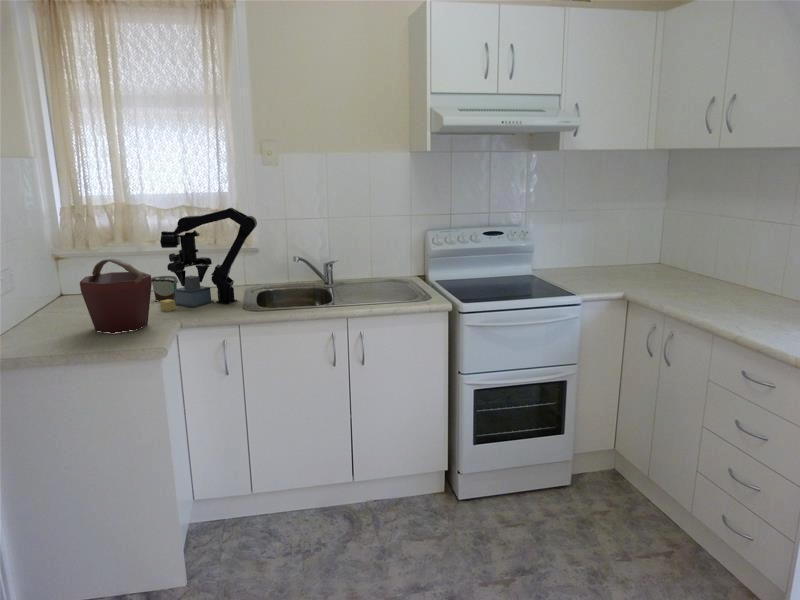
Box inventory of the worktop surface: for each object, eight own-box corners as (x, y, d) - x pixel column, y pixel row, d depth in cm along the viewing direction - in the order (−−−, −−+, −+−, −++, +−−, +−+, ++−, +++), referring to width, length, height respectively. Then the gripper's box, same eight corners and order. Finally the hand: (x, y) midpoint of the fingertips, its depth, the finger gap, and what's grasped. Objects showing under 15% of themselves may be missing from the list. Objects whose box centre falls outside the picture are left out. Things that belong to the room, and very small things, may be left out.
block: (175, 309, 233) (174, 300, 233) (167, 312, 230) (166, 302, 229) (169, 308, 235) (168, 299, 234) (160, 310, 232) (159, 301, 231)
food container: (186, 298, 252) (183, 276, 250) (177, 301, 246) (174, 279, 244) (162, 297, 255) (159, 275, 253) (152, 300, 250) (150, 277, 247)
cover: (211, 301, 246) (209, 275, 243) (192, 306, 237) (190, 279, 234) (194, 298, 250) (192, 273, 248) (176, 303, 242) (173, 277, 239)
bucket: (164, 328, 207) (157, 259, 201) (98, 341, 192) (88, 268, 186) (138, 316, 224) (131, 252, 218) (76, 327, 209) (66, 259, 203)
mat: (214, 301, 246) (214, 300, 246) (192, 307, 236) (192, 306, 236) (194, 298, 252) (194, 297, 252) (172, 304, 241) (172, 303, 241)
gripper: (192, 243, 250) (195, 278, 254) (156, 249, 234) (160, 286, 238) (211, 244, 245) (214, 280, 248) (175, 250, 229) (179, 289, 232)
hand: (192, 284), depth 242 cm, fingers open, 9 cm apart
